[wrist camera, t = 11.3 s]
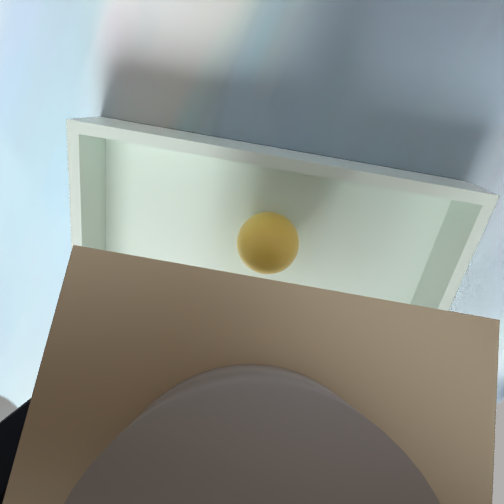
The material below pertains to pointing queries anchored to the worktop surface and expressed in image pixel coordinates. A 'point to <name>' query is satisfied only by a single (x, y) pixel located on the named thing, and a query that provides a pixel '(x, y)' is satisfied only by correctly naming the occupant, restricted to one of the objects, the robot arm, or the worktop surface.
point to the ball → (268, 243)
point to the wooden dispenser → (252, 394)
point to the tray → (272, 210)
